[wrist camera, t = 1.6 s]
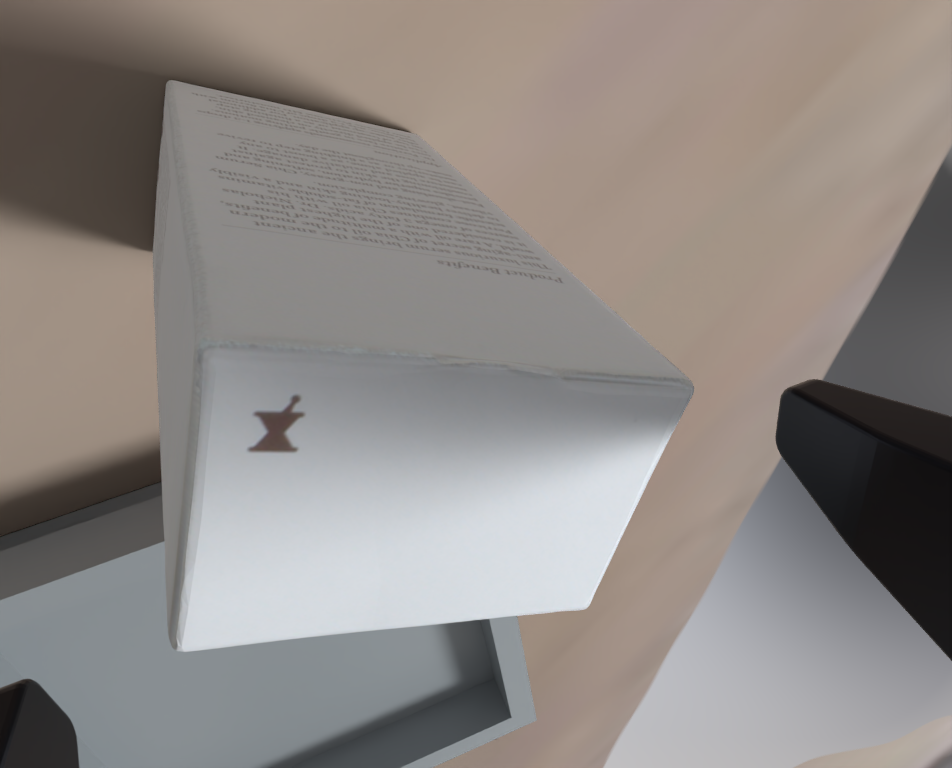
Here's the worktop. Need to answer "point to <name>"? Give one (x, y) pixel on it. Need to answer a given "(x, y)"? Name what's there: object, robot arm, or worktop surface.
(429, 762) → the tray
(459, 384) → the skincare box
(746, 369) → the worktop surface
